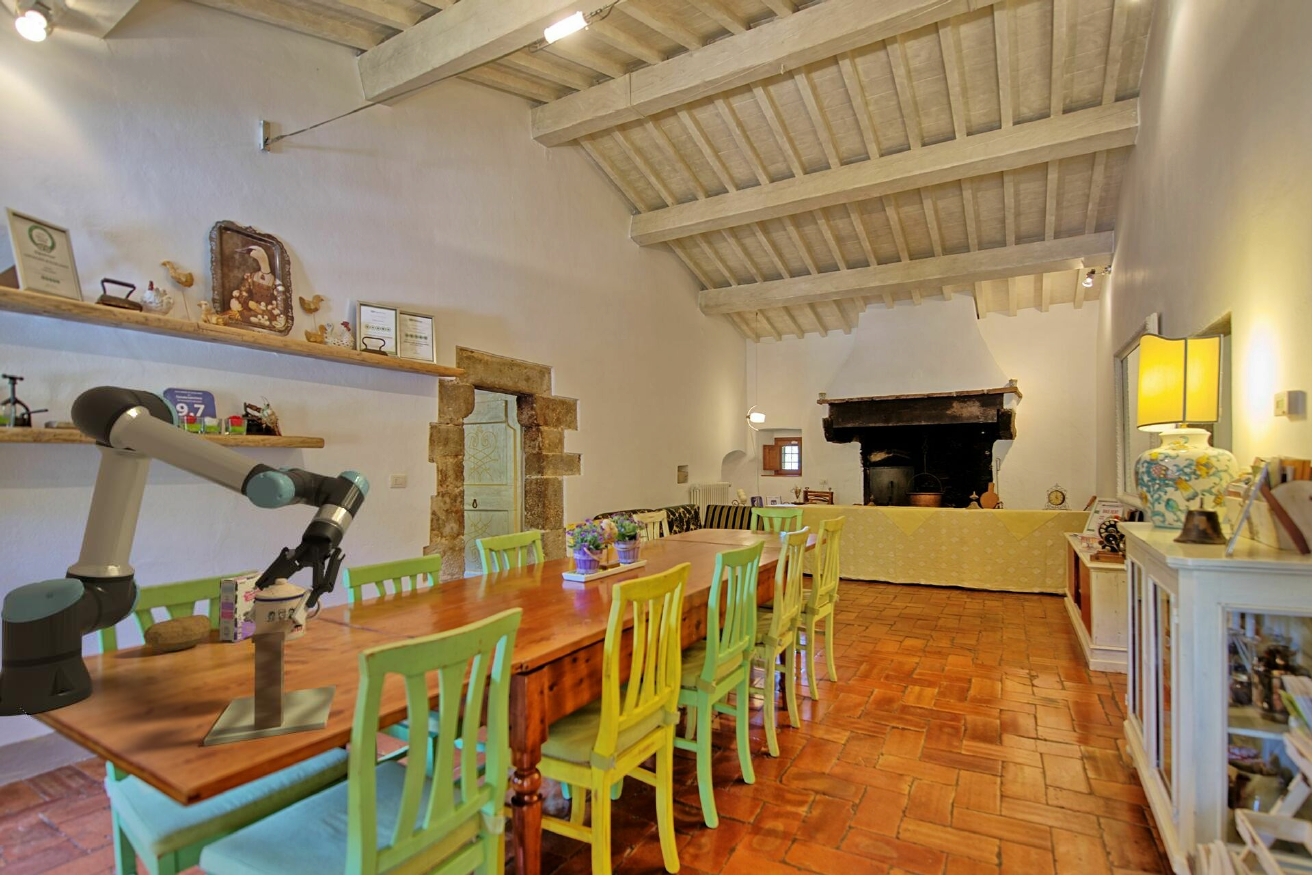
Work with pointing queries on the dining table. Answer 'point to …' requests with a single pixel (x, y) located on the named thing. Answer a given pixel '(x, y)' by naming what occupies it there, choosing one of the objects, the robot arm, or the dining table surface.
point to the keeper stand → (272, 696)
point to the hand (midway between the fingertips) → (274, 620)
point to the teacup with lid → (282, 606)
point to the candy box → (237, 607)
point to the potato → (178, 633)
